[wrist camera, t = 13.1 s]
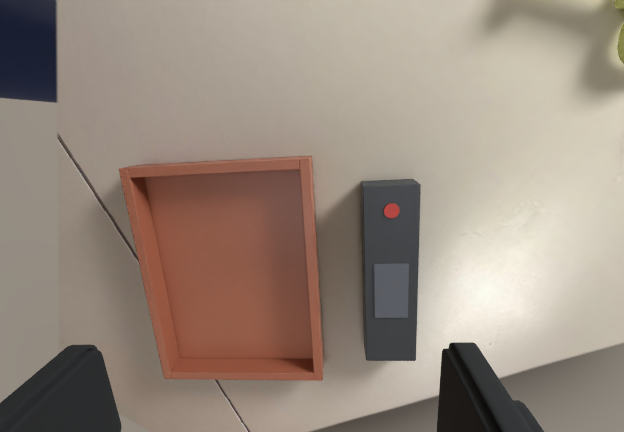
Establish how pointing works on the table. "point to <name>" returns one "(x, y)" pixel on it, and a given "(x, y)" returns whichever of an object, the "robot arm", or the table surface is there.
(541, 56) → the table surface
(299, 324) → the tray
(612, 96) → the table surface
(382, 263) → the tv remote
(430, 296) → the table surface
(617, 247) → the table surface
